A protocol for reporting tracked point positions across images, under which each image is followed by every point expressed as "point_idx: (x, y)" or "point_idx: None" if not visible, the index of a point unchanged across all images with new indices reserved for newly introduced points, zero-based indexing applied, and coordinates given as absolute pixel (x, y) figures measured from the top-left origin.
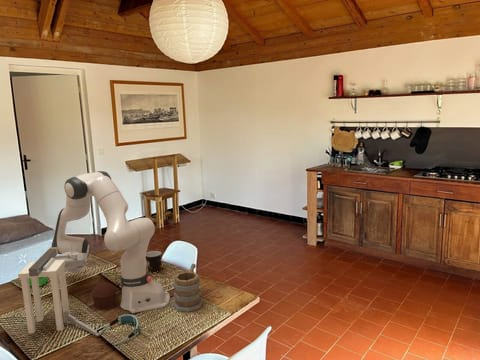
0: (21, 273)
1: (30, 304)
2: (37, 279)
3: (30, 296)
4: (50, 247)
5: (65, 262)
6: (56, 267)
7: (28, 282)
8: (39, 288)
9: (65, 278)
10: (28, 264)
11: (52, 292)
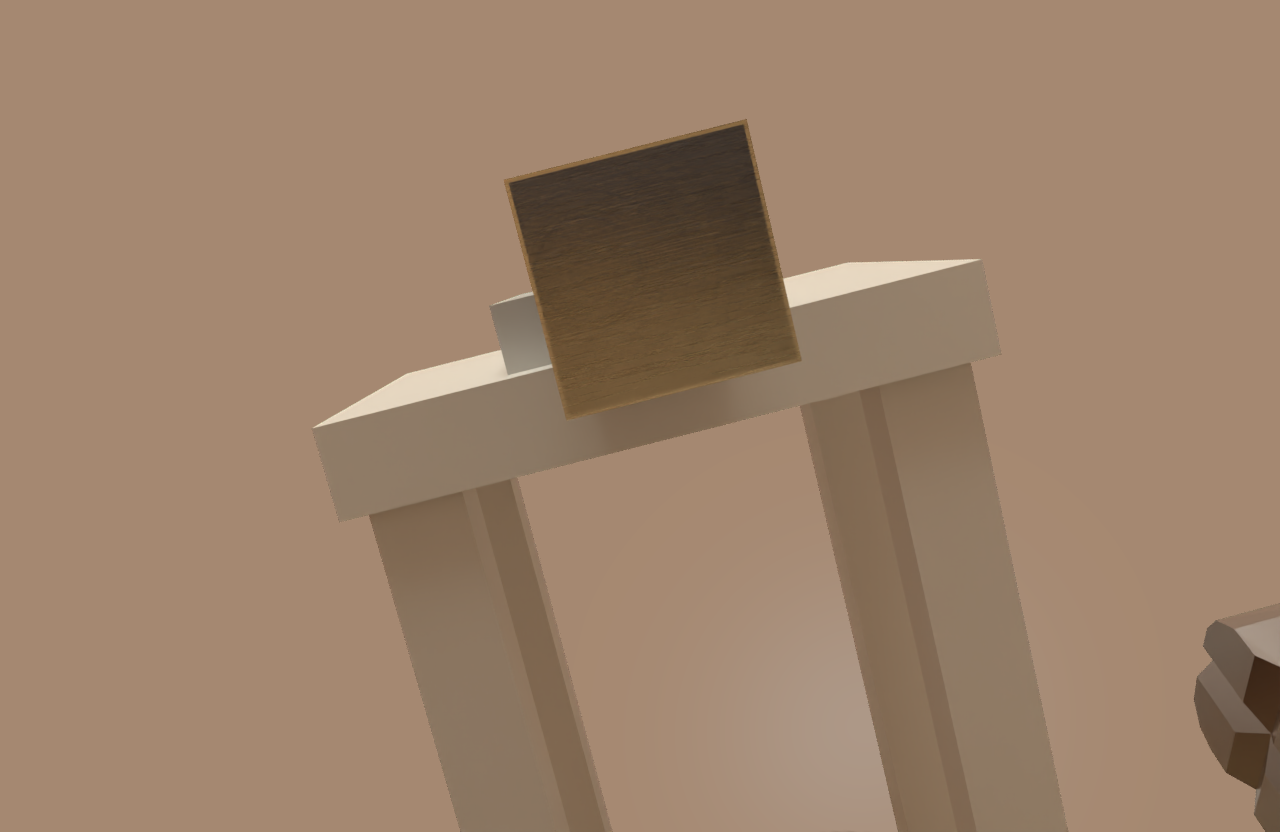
0: (815, 271)
1: (873, 708)
2: (919, 609)
3: (860, 630)
4: (730, 124)
5: (330, 490)
6: (417, 378)
7: (814, 437)
8: (969, 806)
9: (448, 778)
10: (934, 261)
11: (558, 637)
